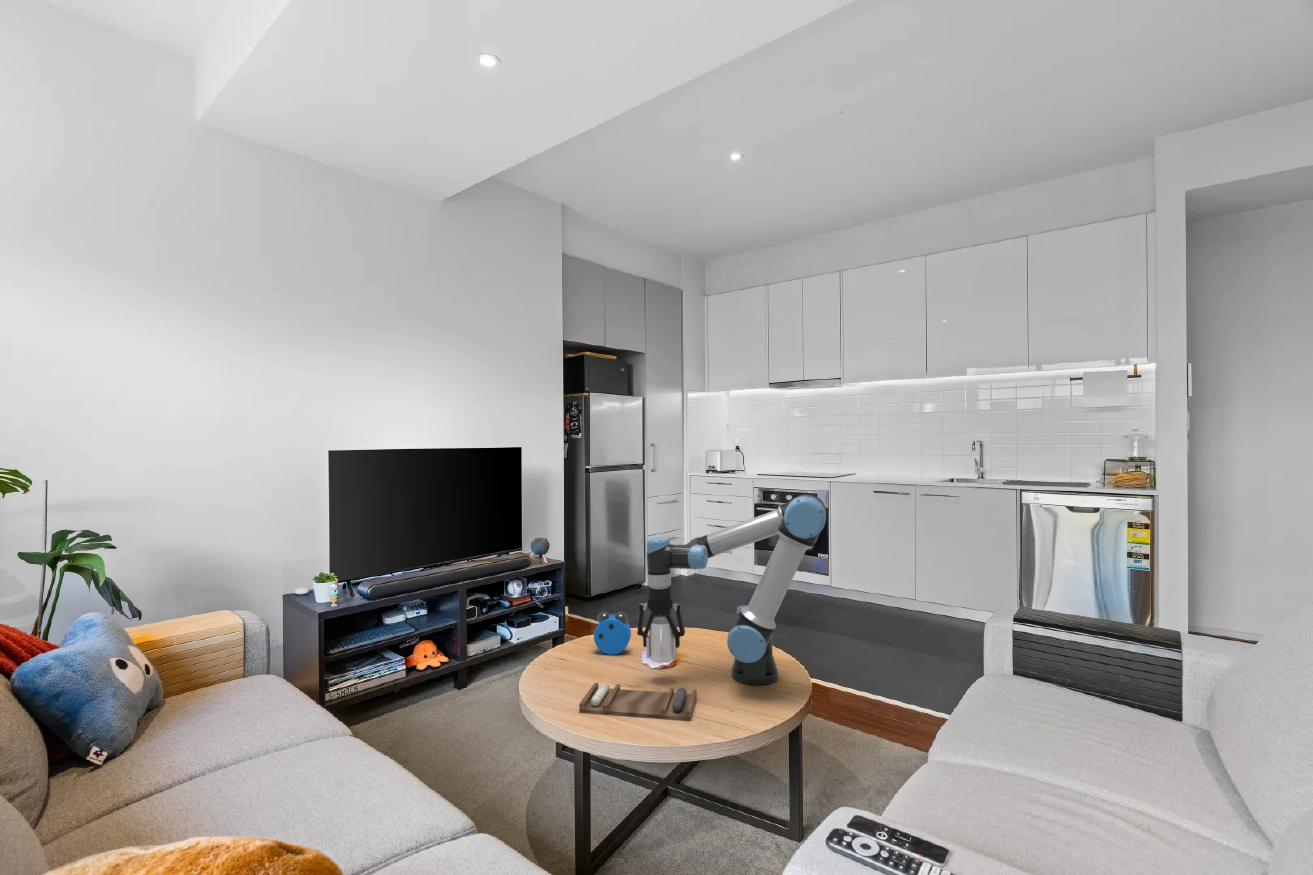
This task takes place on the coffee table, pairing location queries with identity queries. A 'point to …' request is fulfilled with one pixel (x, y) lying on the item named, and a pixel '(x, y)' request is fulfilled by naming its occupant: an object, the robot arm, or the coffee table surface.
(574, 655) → the coffee table surface
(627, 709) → the tray
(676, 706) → the dark grey rounded rod
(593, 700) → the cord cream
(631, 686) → the coffee table surface
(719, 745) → the coffee table surface
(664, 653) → the mug
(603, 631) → the alarm clock
